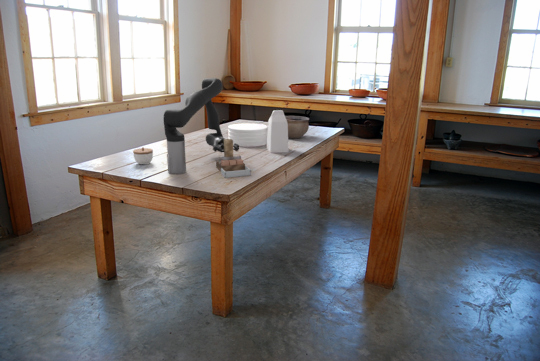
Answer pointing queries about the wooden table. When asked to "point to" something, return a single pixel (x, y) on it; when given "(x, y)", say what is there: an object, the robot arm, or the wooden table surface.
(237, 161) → the tile right
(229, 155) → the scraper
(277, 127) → the milk
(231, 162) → the tile mid
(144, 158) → the lidded jar
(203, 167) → the wooden table surface
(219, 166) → the board
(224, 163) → the tile left
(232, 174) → the tray
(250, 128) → the plate stack
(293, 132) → the ceramic bowl
